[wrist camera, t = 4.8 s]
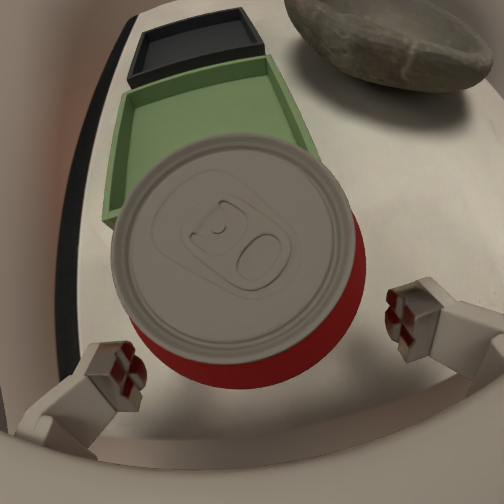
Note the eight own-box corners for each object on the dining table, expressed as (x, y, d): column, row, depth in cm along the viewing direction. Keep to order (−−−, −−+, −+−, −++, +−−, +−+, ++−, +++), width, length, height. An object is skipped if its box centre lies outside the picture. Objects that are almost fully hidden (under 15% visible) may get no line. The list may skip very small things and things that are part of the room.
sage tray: (120, 236, 20) (101, 221, 17) (132, 111, 25) (122, 93, 23) (319, 191, 19) (324, 167, 17) (272, 75, 25) (270, 54, 22)
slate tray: (135, 97, 26) (126, 79, 24) (147, 45, 32) (141, 32, 29) (266, 63, 26) (264, 43, 23) (244, 21, 31) (241, 6, 29)
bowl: (494, 155, 19) (537, 92, 10) (287, 122, 22) (283, 18, 13) (428, 46, 27) (441, -3, 17) (286, 24, 30) (282, -33, 20)
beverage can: (254, 239, 19) (215, 88, 7) (340, 300, 17) (433, 201, 5) (188, 320, 17) (49, 258, 6) (272, 389, 15) (248, 469, 4)
